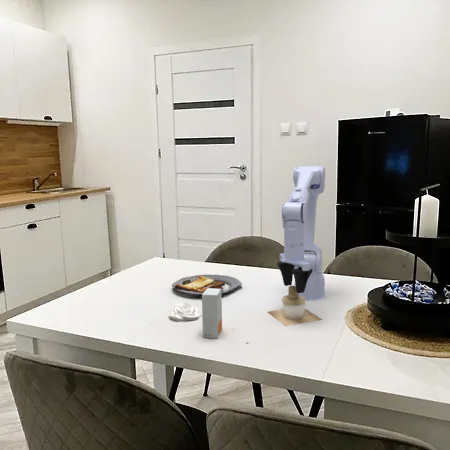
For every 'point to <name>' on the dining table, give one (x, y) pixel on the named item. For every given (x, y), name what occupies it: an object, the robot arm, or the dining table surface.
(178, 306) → the rose
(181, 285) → the food plate
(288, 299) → the lid
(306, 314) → the square wooden coaster
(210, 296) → the skincare box
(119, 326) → the dining table surface
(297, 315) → the jar
